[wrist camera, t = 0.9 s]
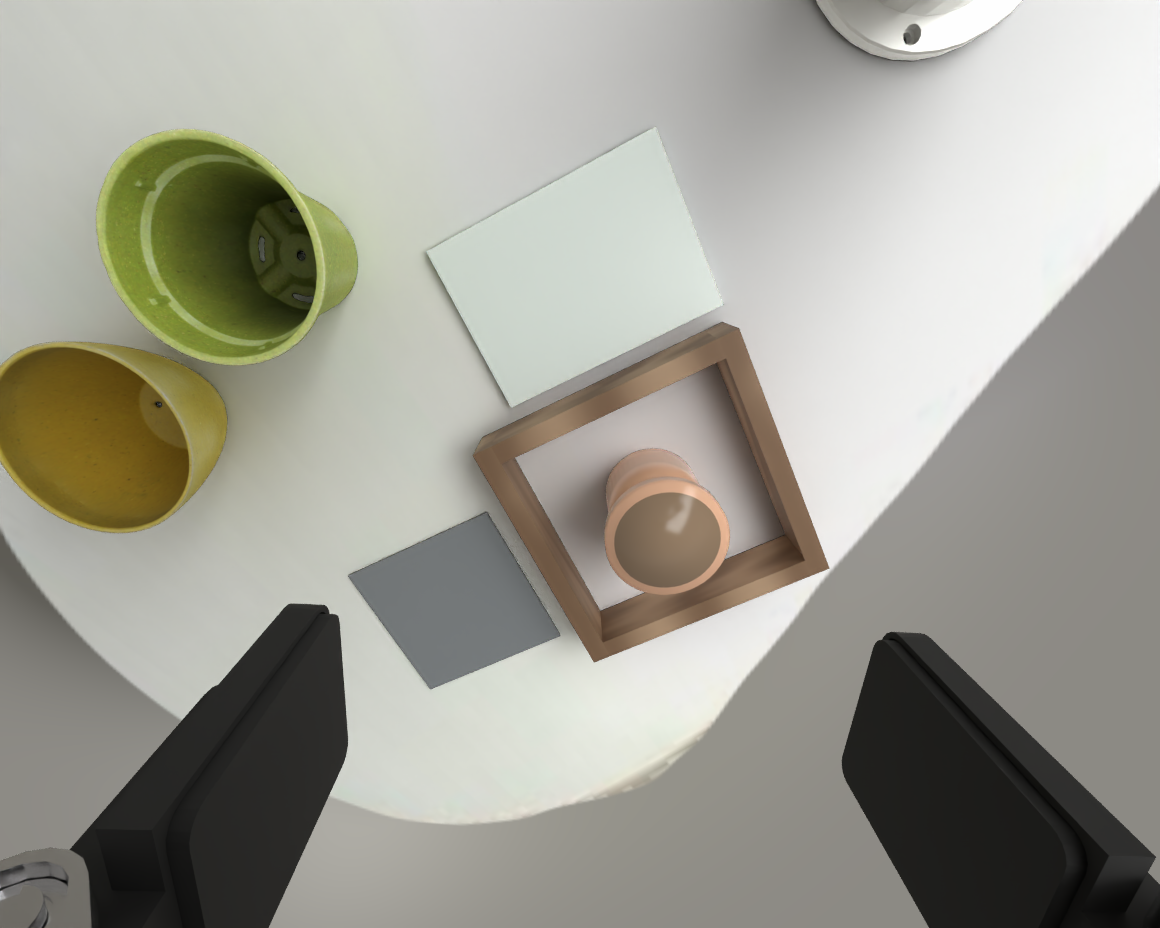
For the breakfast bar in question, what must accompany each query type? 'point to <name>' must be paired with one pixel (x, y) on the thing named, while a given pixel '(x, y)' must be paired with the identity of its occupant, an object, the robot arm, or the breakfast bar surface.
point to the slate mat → (456, 602)
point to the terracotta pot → (662, 524)
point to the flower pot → (107, 432)
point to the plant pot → (218, 247)
